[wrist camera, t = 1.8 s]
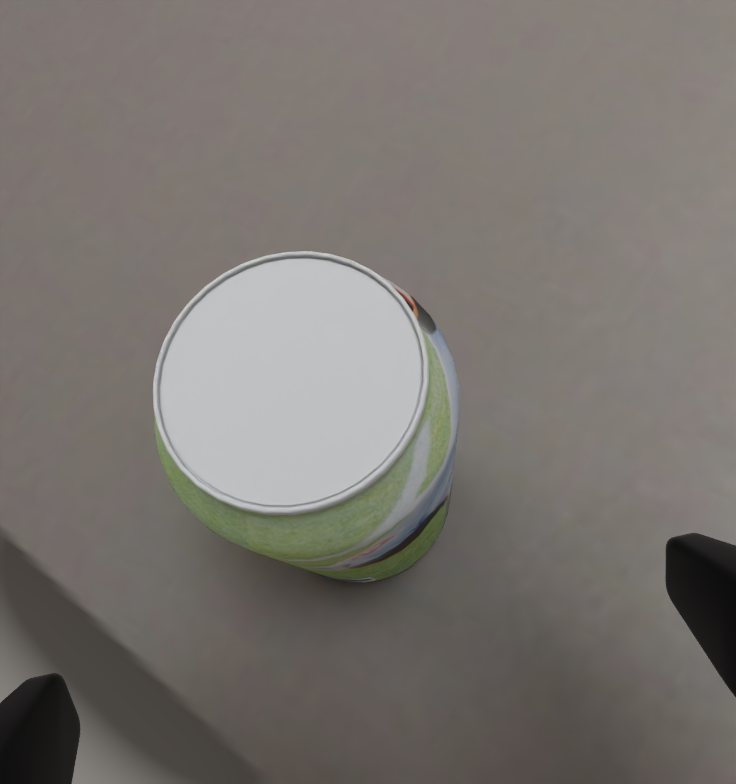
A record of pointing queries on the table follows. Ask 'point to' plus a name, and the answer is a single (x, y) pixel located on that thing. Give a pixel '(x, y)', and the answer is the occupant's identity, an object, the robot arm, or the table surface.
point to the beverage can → (310, 415)
